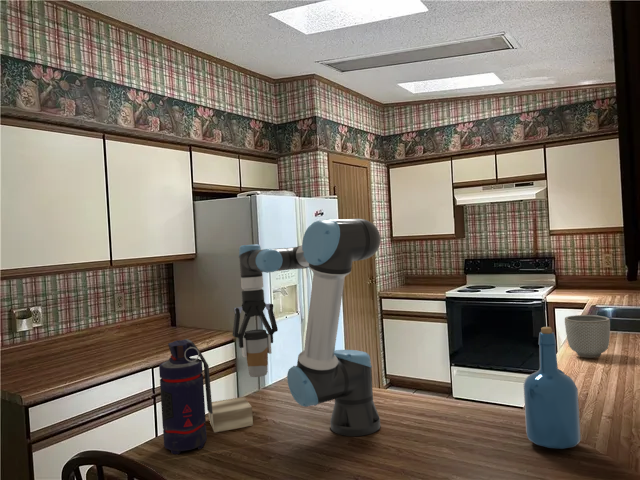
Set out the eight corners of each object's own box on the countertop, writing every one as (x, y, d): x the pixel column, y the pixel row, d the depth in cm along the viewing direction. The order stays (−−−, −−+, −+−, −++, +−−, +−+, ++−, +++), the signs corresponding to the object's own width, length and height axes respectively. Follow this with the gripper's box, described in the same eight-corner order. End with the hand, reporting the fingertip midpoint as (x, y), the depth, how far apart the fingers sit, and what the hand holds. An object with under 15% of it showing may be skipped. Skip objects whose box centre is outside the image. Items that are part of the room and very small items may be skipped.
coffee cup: (266, 377, 172) (263, 333, 173) (242, 378, 174) (239, 333, 174) (273, 371, 181) (270, 328, 181) (250, 371, 182) (248, 329, 182)
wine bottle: (578, 454, 127) (571, 333, 127) (521, 445, 134) (515, 330, 134) (583, 434, 139) (577, 323, 139) (531, 427, 146) (525, 322, 146)
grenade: (168, 458, 139) (161, 348, 139) (160, 444, 150) (154, 341, 149) (218, 446, 145) (212, 340, 145) (207, 433, 156) (201, 334, 156)
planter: (573, 360, 214) (571, 322, 214) (561, 351, 231) (559, 315, 231) (618, 359, 211) (616, 321, 211) (602, 350, 228) (600, 314, 228)
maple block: (253, 426, 161) (251, 407, 161) (214, 433, 157) (213, 413, 157) (245, 414, 172) (244, 396, 172) (208, 420, 168) (207, 402, 168)
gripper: (277, 285, 186) (281, 348, 185) (219, 291, 177) (224, 357, 176) (284, 286, 179) (289, 352, 179) (225, 292, 170) (230, 361, 170)
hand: (257, 354), depth 177 cm, fingers closed on coffee cup, 8 cm apart
